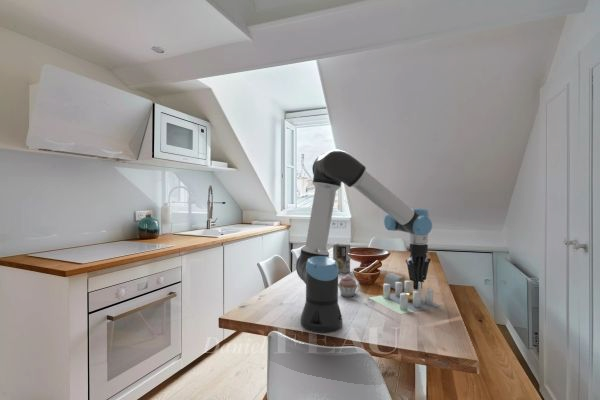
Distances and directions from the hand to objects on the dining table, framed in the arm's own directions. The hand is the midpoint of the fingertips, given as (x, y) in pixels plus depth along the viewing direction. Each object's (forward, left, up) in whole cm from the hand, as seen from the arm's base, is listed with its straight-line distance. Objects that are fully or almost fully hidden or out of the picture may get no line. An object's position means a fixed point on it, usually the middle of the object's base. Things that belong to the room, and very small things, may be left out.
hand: (417, 296), depth 133 cm
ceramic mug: (+4, +17, -3) cm, 18 cm away
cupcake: (-24, +19, -3) cm, 31 cm away
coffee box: (-3, +57, -3) cm, 57 cm away
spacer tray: (-8, 0, -2) cm, 9 cm away
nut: (-4, 0, -1) cm, 4 cm away
